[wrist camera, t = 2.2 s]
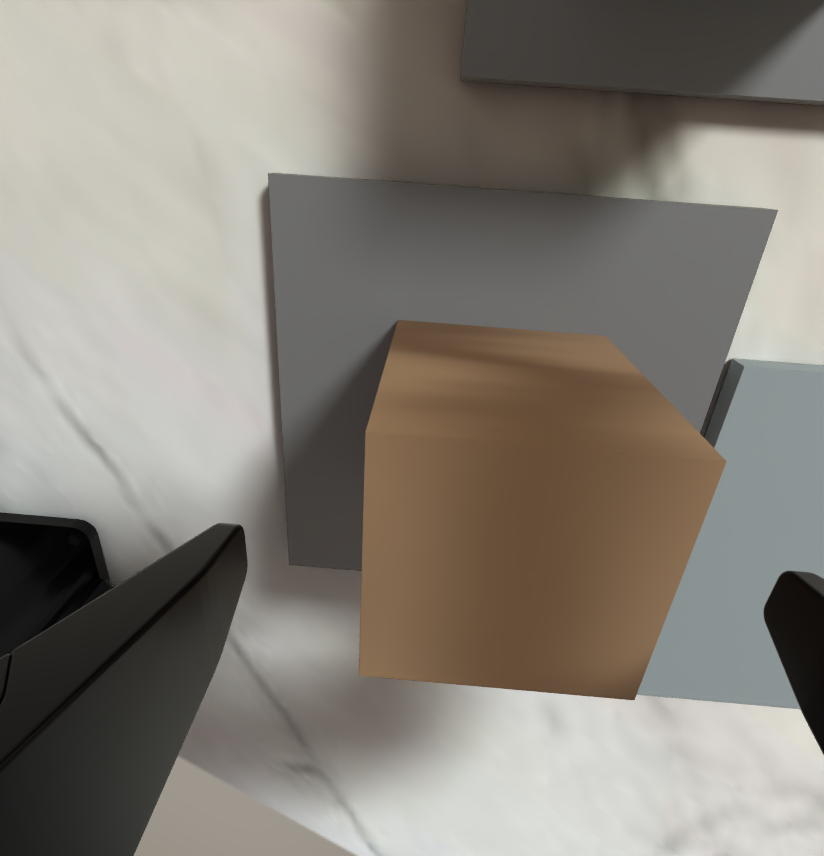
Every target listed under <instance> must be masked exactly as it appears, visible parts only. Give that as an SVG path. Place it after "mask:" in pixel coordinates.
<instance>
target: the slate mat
mask: <svg viewBox="0 0 824 856" xmlns="http://www.w3.org/2000/svg"><path fill="white" fill-rule="evenodd" d="M704 438H705V439H706V440H707V441H708V442H709V443H710V444H711V445H712V446H713V447H714V448H715V450H716V451H717V452H718V453H719V454H720V455H721V456H722V457H723V458H724V459H725V460H726V461H727V462H726V465H725V467H724V470H723V473H722V475H721V478H720V480H719V483H718V485H717V488H716V491H715V493H714V496H713V498H712V501H711V504H710V506H709V509H708V511H707V514H706V516H705V519H704V522H703V524H702V527H701V529H700V532H699V535H698V537H697V540H696V542H695V545H694V547H693V550H692V553H691V555H690V558H689V560H688V563H687V566H686V568H685V571H684V573H683V576H682V578H681V581H680V584H679V586H678V589H677V591H676V594H675V597H674V599H673V602H672V604H671V607H670V609H669V612H668V615H667V617H666V620H665V622H664V625H663V628H662V630H661V633H660V635H659V638H658V640H657V643H656V646H655V648H654V651H653V653H652V656H651V659H650V661H649V664H648V666H647V669H646V671H645V674H644V677H643V679H642V682H641V684H640V687H639V690H638V692H637V695H647V696H658V697H670V698H681V699H692V700H703V701H714V702H726V703H737V704H748V705H759V706H770V707H782V708H793V709H800V707H799V704H798V702H797V700H796V697H795V695H794V693H793V690H792V688H791V685H790V683H789V680H788V678H787V675H786V673H785V670H784V668H783V665H782V663H781V661H780V658H779V656H778V653H777V651H776V648H775V646H774V643H773V641H772V638H771V636H770V634H769V631H768V629H767V626H766V624H765V621H764V613H763V611H764V606H765V604H766V601H767V599H768V597H769V595H770V593H771V591H772V589H773V587H774V585H775V583H776V581H777V579H778V577H779V576H780V574H782V573H783V572H785V571H802V572H810V573H814V574H816V575H818V576H820V577H821V578H823V579H824V366H822V365H809V364H797V363H784V362H771V361H758V360H745V359H732V361H731V364H730V366H729V369H728V372H727V375H726V378H725V380H724V383H723V386H722V389H721V392H720V394H719V397H718V400H717V403H716V406H715V409H714V411H713V414H712V417H711V420H710V423H709V425H708V428H707V431H706V434H705V437H704Z"/></svg>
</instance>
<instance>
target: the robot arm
mask: <svg viewBox="0 0 824 856" xmlns="http://www.w3.org/2000/svg"><path fill="white" fill-rule="evenodd" d="M77 535H78V536H77ZM80 537H81V538H80ZM246 573H247V553H246V543H245V533H244V529H243V527H242V526H240V525H238V524H226V523H218V524H216V525H214V526H212V527H210V528H209V529H207V530H206V531H204V532H202V533H201V534H199V535H198V536H196V537H194V538H193V539H191V540H189V541H188V542H186V543H185V544H183V545H181V546H180V547H178V548H177V549H175V550H173V551H172V552H170V553H169V554H167V555H165V556H164V557H162V558H161V559H159V560H157V561H156V562H154V563H153V564H151V565H149V566H148V567H146V568H144V569H143V570H141V571H140V572H138V573H136V574H135V575H133V576H132V577H130V578H128V579H127V580H125V581H124V582H122V583H120V584H119V585H117V586H116V587H114V588H112V587H111V584H110V580H109V576H108V572H107V568H106V564H105V560H104V556H103V553H102V549H101V545H100V541H99V537H98V533H97V531H96V529H95V528H94V527H93V526H92V525H91V524H90V523H88V522H86V521H84V520H79V519H69V518H57V517H45V516H34V515H22V514H10V513H0V856H133V855H134V853H135V851H136V849H137V847H138V844H139V842H140V840H141V837H142V835H143V833H144V831H145V828H146V826H147V824H148V822H149V819H150V817H151V815H152V813H153V810H154V808H155V806H156V804H157V801H158V799H159V797H160V794H161V792H162V790H163V788H164V785H165V783H166V781H167V778H168V776H169V774H170V772H171V770H172V767H173V765H174V763H175V761H176V758H177V756H178V754H179V751H180V749H181V747H182V745H183V742H184V740H185V738H186V736H187V733H188V731H189V729H190V727H191V724H192V722H193V720H194V717H195V715H196V713H197V711H198V708H199V706H200V704H201V702H202V699H203V697H204V695H205V693H206V690H207V688H208V686H209V684H210V681H211V679H212V677H213V674H214V672H215V670H216V667H217V665H218V662H219V660H220V657H221V654H222V651H223V648H224V645H225V641H226V638H227V635H228V632H229V629H230V626H231V622H232V619H233V616H234V613H235V610H236V606H237V603H238V600H239V597H240V594H241V591H242V587H243V584H244V581H245V578H246ZM763 613H764V621H765V624H766V626H767V629H768V631H769V634H770V636H771V638H772V641H773V643H774V646H775V648H776V651H777V653H778V656H779V658H780V661H781V663H782V665H783V668H784V670H785V673H786V675H787V678H788V680H789V683H790V685H791V688H792V690H793V693H794V695H795V697H796V700H797V702H798V704H799V707H800V709H801V711H802V713H803V715H804V717H805V719H806V721H807V723H808V725H809V727H810V729H811V731H812V733H813V735H814V737H815V739H816V741H817V743H818V745H819V747H820V749H821V751H822V753H823V754H824V579H823V578H821V577H820V576H818V575H816V574H814V573H810V572H802V571H785V572H783V573H782V574H780V576H779V577H778V579H777V581H776V583H775V585H774V587H773V589H772V591H771V593H770V595H769V597H768V599H767V601H766V604H765V606H764V611H763Z"/></svg>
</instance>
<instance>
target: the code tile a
mask: <svg viewBox="0 0 824 856" xmlns="http://www.w3.org/2000/svg"><path fill="white" fill-rule="evenodd" d="M268 181H269V200H270V218H271V237H272V256H273V274H274V293H275V311H276V330H277V349H278V367H279V386H280V405H281V423H282V442H283V460H284V479H285V498H286V516H287V535H288V554H289V565H299V566H311V567H322V568H334V569H346V570H357V571H362V544H363V507H364V470H365V433H366V429H367V425H368V422H369V418H370V415H371V411H372V408H373V405H374V401H375V398H376V394H377V391H378V387H379V384H380V380H381V377H382V374H383V370H384V367H385V363H386V360H387V356H388V353H389V350H390V346H391V343H392V339H393V336H394V332H395V329H396V325H397V322H398V320H407V321H420V322H433V323H446V324H459V325H472V326H485V327H498V328H511V329H524V330H537V331H550V332H563V333H576V334H589V335H602V336H606V337H607V338H608V339H609V340H610V341H611V342H612V343H613V344H614V345H615V346H616V347H617V348H618V349H619V350H620V351H621V352H622V353H623V354H624V356H625V357H626V358H627V359H628V360H629V361H630V362H631V363H632V364H633V365H634V366H635V367H636V368H637V369H638V370H639V371H640V372H641V373H642V374H643V375H644V376H645V377H646V378H647V379H648V380H649V381H650V382H651V383H652V384H653V385H654V387H655V388H656V389H657V390H658V391H659V392H660V393H661V394H662V395H663V396H664V397H665V398H666V399H667V400H668V401H669V402H670V403H671V404H672V405H673V406H674V407H675V408H676V409H677V410H678V411H679V412H680V413H681V414H682V415H683V416H684V418H685V419H686V420H687V421H688V422H689V423H690V424H691V425H692V426H693V427H694V428H695V429H696V430H697V431H698V432H699V433H700V432H701V429H702V426H703V423H704V420H705V417H706V414H707V412H708V409H709V406H710V403H711V400H712V397H713V394H714V392H715V389H716V386H717V383H718V380H719V377H720V375H721V372H722V369H723V366H724V363H725V360H726V357H727V355H728V352H729V349H730V346H731V343H732V340H733V337H734V335H735V332H736V329H737V326H738V323H739V320H740V317H741V315H742V312H743V309H744V306H745V303H746V300H747V297H748V295H749V292H750V289H751V286H752V283H753V280H754V278H755V275H756V272H757V269H758V266H759V263H760V260H761V258H762V255H763V252H764V249H765V246H766V243H767V240H768V238H769V235H770V232H771V229H772V226H773V223H774V220H775V218H776V215H777V212H778V210H773V209H765V208H752V207H738V206H725V205H711V204H697V203H683V202H669V201H655V200H642V199H628V198H614V197H600V196H586V195H572V194H559V193H545V192H531V191H517V190H503V189H489V188H476V187H462V186H448V185H434V184H420V183H406V182H393V181H379V180H365V179H351V178H337V177H323V176H309V175H296V174H282V173H268Z"/></svg>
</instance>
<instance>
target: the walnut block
mask: <svg viewBox="0 0 824 856" xmlns="http://www.w3.org/2000/svg"><path fill="white" fill-rule="evenodd" d="M726 462H727V461H726V460H725V459H724V458H723V457H722V456H721V455H720V454H719V453H718V452H717V451H716V450H715V448H714V447H713V446H712V445H711V444H710V443H709V442H708V441H707V440H706V439H705V438H704V437H703V436H702V435H701V434H700V433H699V432H698V431H697V430H696V429H695V428H694V427H693V426H692V425H691V424H690V423H689V422H688V421H687V420H686V419H685V418H684V416H683V415H682V414H681V413H680V412H679V411H678V410H677V409H676V408H675V407H674V406H673V405H672V404H671V403H670V402H669V401H668V400H667V399H666V398H665V397H664V396H663V395H662V394H661V393H660V392H659V391H658V390H657V389H656V388H655V387H654V385H653V384H652V383H651V382H650V381H649V380H648V379H647V378H646V377H645V376H644V375H643V374H642V373H641V372H640V371H639V370H638V369H637V368H636V367H635V366H634V365H633V364H632V363H631V362H630V361H629V360H628V359H627V358H626V357H625V356H624V354H623V353H622V352H621V351H620V350H619V349H618V348H617V347H616V346H615V345H614V344H613V343H612V342H611V341H610V340H609V339H608V338H607V337H606V336H602V335H589V334H576V333H563V332H550V331H537V330H524V329H511V328H498V327H485V326H472V325H459V324H446V323H433V322H420V321H407V320H398V322H397V325H396V329H395V332H394V336H393V339H392V343H391V346H390V350H389V353H388V356H387V360H386V363H385V367H384V370H383V374H382V377H381V380H380V384H379V387H378V391H377V394H376V398H375V401H374V405H373V408H372V411H371V415H370V418H369V422H368V425H367V429H366V433H365V470H364V507H363V544H362V581H361V618H360V655H359V676H369V677H380V678H391V679H403V680H414V681H425V682H436V683H447V684H458V685H470V686H481V687H492V688H503V689H514V690H526V691H537V692H548V693H559V694H570V695H581V696H593V697H604V698H615V699H626V700H635V697H636V695H637V692H638V690H639V687H640V684H641V682H642V679H643V677H644V674H645V671H646V669H647V666H648V664H649V661H650V659H651V656H652V653H653V651H654V648H655V646H656V643H657V640H658V638H659V635H660V633H661V630H662V628H663V625H664V622H665V620H666V617H667V615H668V612H669V609H670V607H671V604H672V602H673V599H674V597H675V594H676V591H677V589H678V586H679V584H680V581H681V578H682V576H683V573H684V571H685V568H686V566H687V563H688V560H689V558H690V555H691V553H692V550H693V547H694V545H695V542H696V540H697V537H698V535H699V532H700V529H701V527H702V524H703V522H704V519H705V516H706V514H707V511H708V509H709V506H710V504H711V501H712V498H713V496H714V493H715V491H716V488H717V485H718V483H719V480H720V478H721V475H722V473H723V470H724V467H725V465H726Z"/></svg>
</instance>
